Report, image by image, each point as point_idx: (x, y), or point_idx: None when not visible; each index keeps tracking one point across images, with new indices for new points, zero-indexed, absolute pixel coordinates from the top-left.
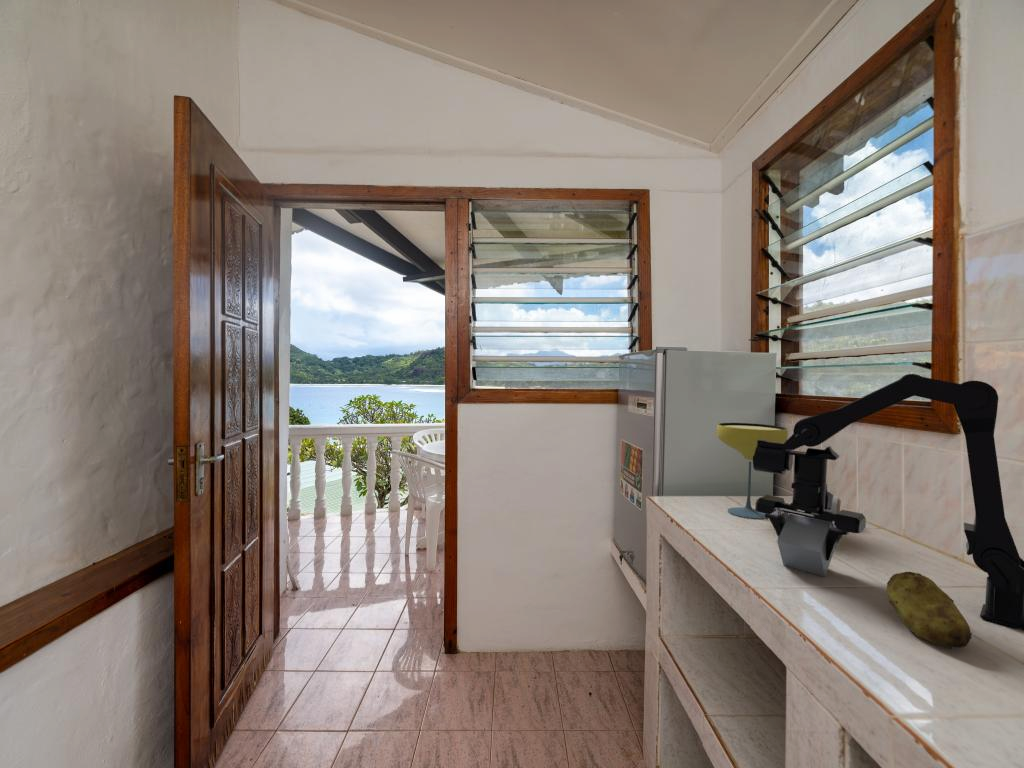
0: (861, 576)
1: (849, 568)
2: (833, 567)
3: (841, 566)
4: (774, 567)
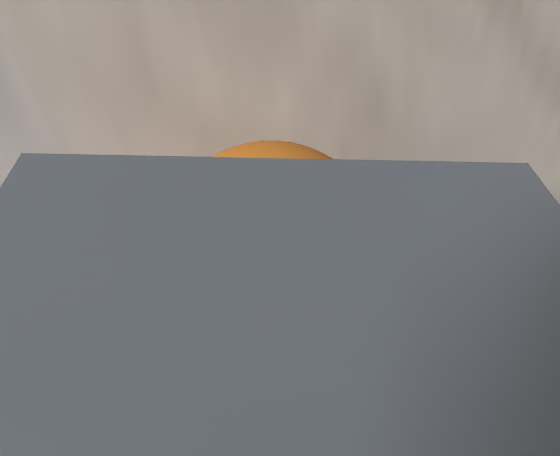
0: (544, 158)
1: (485, 47)
2: (393, 122)
3: (436, 47)
4: None
